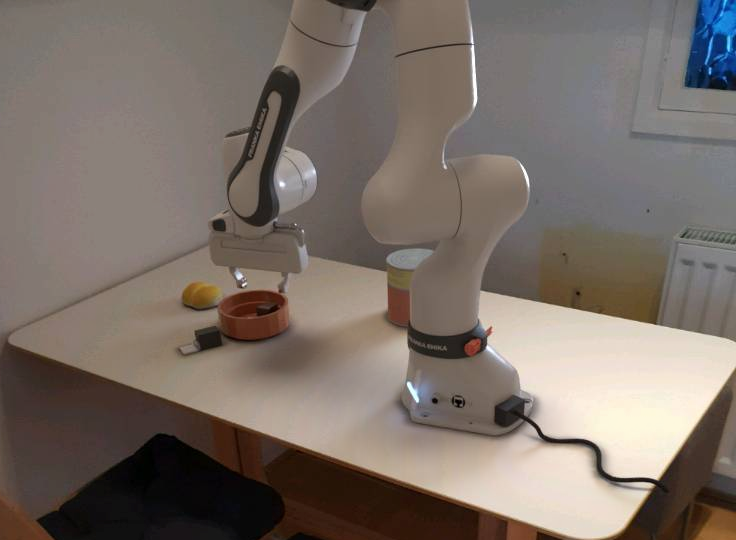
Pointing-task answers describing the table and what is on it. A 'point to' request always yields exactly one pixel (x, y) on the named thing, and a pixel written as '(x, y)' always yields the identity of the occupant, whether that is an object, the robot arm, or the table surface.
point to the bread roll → (202, 295)
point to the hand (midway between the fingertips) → (262, 289)
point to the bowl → (253, 315)
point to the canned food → (402, 281)
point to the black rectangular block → (203, 340)
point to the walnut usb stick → (266, 309)
